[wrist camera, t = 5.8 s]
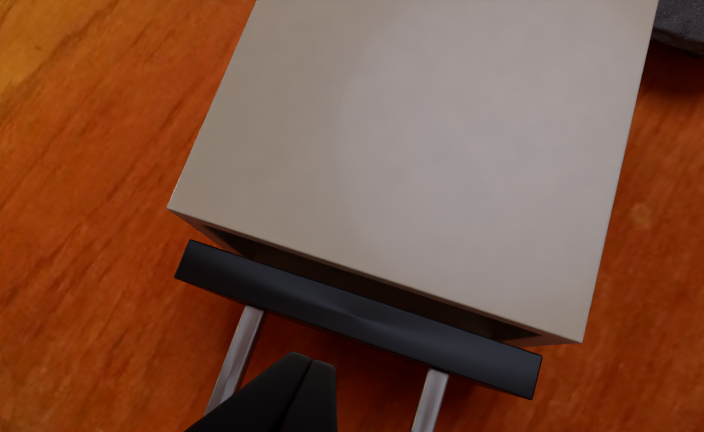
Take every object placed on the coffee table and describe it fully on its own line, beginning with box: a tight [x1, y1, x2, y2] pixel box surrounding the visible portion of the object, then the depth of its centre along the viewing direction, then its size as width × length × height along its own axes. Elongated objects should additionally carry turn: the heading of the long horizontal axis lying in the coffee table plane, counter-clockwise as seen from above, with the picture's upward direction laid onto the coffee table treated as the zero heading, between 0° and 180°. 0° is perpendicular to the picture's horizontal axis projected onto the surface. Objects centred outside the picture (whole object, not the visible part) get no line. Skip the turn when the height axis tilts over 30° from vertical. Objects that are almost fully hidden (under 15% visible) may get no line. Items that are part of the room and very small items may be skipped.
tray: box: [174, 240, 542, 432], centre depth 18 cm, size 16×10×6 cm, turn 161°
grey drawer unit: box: [167, 0, 659, 348], centre depth 19 cm, size 12×12×8 cm
